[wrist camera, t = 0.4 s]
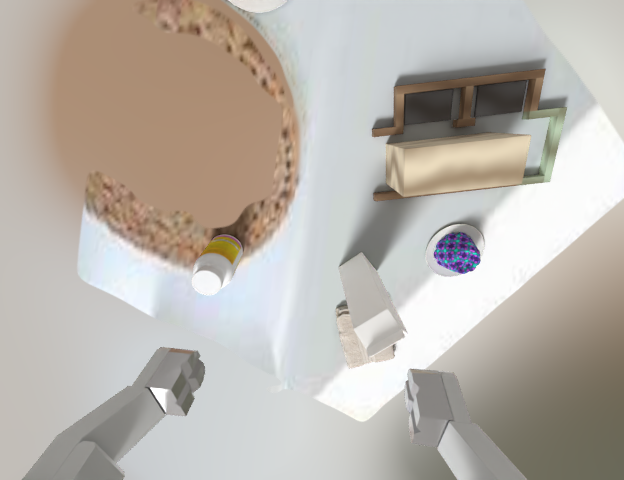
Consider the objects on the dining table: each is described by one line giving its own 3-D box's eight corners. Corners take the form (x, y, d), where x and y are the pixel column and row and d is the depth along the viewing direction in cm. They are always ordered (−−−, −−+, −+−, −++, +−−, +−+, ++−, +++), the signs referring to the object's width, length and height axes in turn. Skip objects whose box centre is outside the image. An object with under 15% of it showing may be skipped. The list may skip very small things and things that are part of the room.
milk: (377, 271, 59) (417, 350, 39) (353, 286, 60) (380, 370, 40) (361, 250, 57) (395, 323, 37) (337, 267, 58) (357, 345, 38)
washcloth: (383, 293, 62) (387, 302, 59) (394, 352, 69) (398, 362, 66) (331, 305, 63) (333, 314, 60) (347, 362, 70) (349, 373, 67)
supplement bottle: (208, 232, 54) (182, 263, 42) (242, 233, 55) (226, 265, 43) (211, 262, 57) (187, 299, 45) (244, 264, 57) (228, 301, 45)
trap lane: (371, 89, 45) (373, 88, 44) (568, 66, 45) (576, 65, 44) (373, 199, 53) (375, 201, 51) (543, 180, 52) (549, 181, 51)
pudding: (492, 230, 56) (510, 241, 52) (464, 280, 61) (478, 293, 56) (439, 215, 55) (453, 225, 50) (414, 267, 59) (424, 280, 54)
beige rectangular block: (385, 143, 49) (405, 149, 40) (488, 132, 49) (531, 134, 40) (385, 183, 52) (403, 196, 43) (482, 172, 52) (521, 183, 42)
